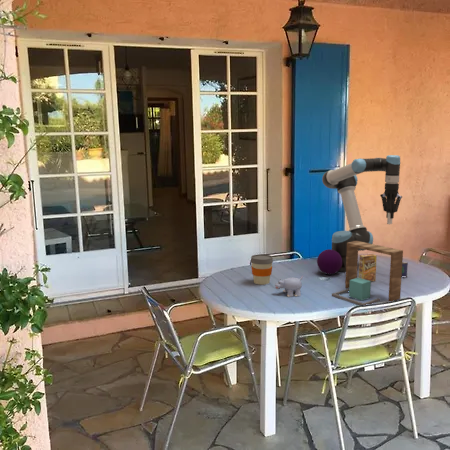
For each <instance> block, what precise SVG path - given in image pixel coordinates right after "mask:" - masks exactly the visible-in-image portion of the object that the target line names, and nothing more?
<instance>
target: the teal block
mask: <svg viewBox="0 0 450 450" xmlns="http://www.w3.org/2000/svg"><path fill="white" fill-rule="evenodd" d="M371 287H372V281H369V280H365V279H361V278H359V277H357V278H355V279H352V280H350V285H349V288H348V289H349V292H348V297H349V296H350V298H352V297H353V299H355V298H356V299H355V300H357V301H358V300H359V301H360V302H361V301H364V300H365V301H366V300H367V299H370V298H371Z"/></svg>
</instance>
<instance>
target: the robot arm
mask: <svg viewBox="0 0 450 450" xmlns="http://www.w3.org/2000/svg"><path fill="white" fill-rule="evenodd" d="M400 169H401V156H400V155H395V154H393V155H392V154H389V155H386V158H384V157H374V158H371V157H370V158H355V159H354V160H353V161H352V162H351V163H349V164H347V165H344V166H341V167H339V168H337V169H330V170H328V171H326V172H324V174H323V175H322V179H321V181H322V183H323V185H324V186H325V188H328V189H335V190H337V193H338V194H339V195H340V196H341V200H342V204H343V208H344V213H345V216H346V220H347V224H348V228H349V230H340V231H335V232H333V234H332V238H331V250H335V251H337V252H338V253H339V254H340V256H341V258H342V267H341V268H340V270H339V271H338V272H340V273H342V272H343V273H346V254H347V243H348V242H353V241H360V242H365V243H370V244H374V235H373V233H372V232H370V231H369V230H368V228H367V226H365V225H364V223H363V220H362V215H361V212H360V209H359V204H358V201H357V200H358V199H357V197H356V194H355V190H356V186H357V185H358V176H357V175H359V174H363V173H365V172H366V173H367V172H370V173H371V172H372V173H373V172H385V174H384V178H385V179H384V182H385V183H384V192H383V193H382V194H380V197H381V203H382V209H383V212H385V213H386V219H387V220H386V221H387V222H386V224H387V225H392V224H393V219H394V217H395V213H398V210H399V206H400V202H401V200H402V198H403V196H402V195H400V194H399V188H400V187H399V186H400V172H401V171H400ZM360 251H366V250H365V249H360V248H358V252H360ZM338 272H337V273H338Z"/></svg>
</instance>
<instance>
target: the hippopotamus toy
mask: <svg viewBox="0 0 450 450" xmlns="http://www.w3.org/2000/svg"><path fill="white" fill-rule="evenodd" d="M303 278H304V275H302V276H301V277H300V278H298V277H286V278H285V279H283V280H282V279H279V280H278V281H277V283H276V282H275V284H274V286H275V289H276V290H280V289H283V290H282V291H283V292H284V293H287V294H286V296H287V297H290V298H292V297H301V296H302V294H301V288H302V286H303V285H302V280H303Z"/></svg>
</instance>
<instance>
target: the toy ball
mask: <svg viewBox="0 0 450 450" xmlns="http://www.w3.org/2000/svg"><path fill="white" fill-rule="evenodd" d="M316 265H317V267H318V269H319V270H320V271H321V272H322V273H324V274H326V275H334V274H337V273H338V271H339V270H340V268H341V267H342V258H341V256H340V254H339V253H338V252H337V251H335V250H332V248H330V249H325V250H323V251H321V252H320V253H319V255H318V256H317V259H316Z"/></svg>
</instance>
